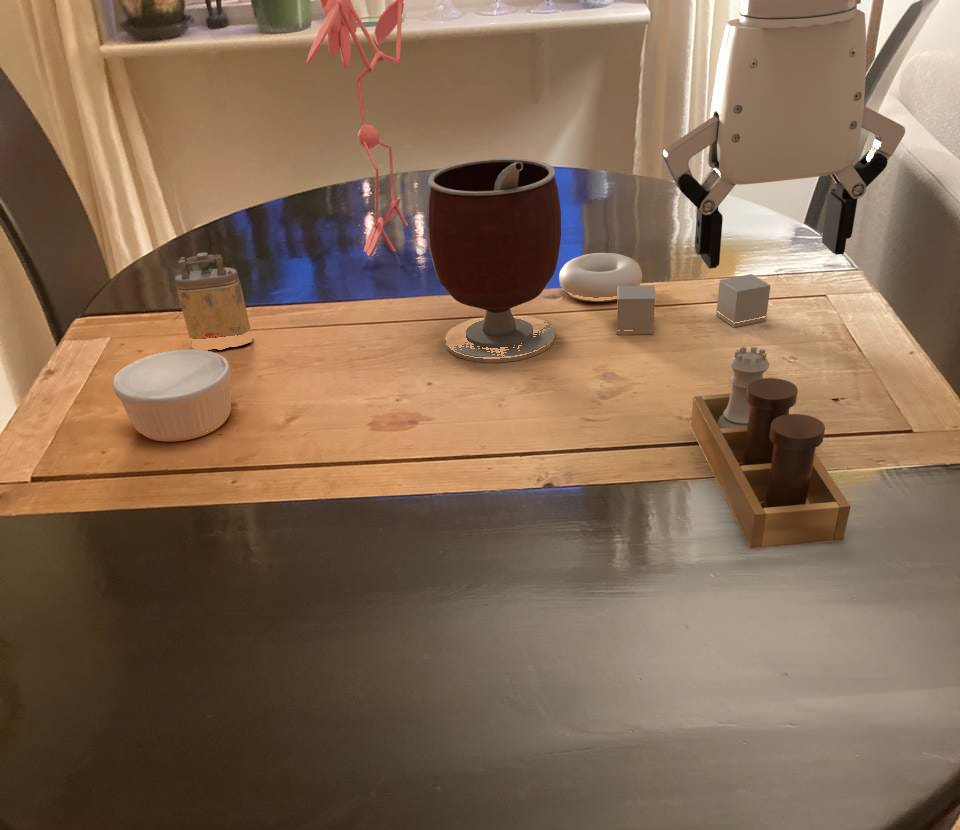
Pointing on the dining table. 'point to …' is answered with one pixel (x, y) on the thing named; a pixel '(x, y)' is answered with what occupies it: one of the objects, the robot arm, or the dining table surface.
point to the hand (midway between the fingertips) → (770, 255)
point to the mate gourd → (495, 247)
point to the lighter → (211, 298)
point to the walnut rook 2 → (792, 458)
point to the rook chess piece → (742, 386)
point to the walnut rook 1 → (765, 416)
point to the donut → (599, 275)
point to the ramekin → (176, 394)
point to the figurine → (338, 27)
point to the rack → (765, 486)
